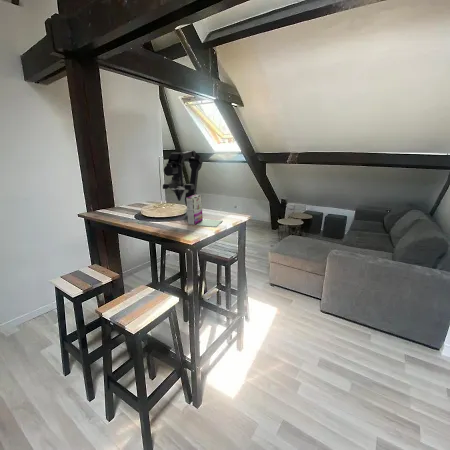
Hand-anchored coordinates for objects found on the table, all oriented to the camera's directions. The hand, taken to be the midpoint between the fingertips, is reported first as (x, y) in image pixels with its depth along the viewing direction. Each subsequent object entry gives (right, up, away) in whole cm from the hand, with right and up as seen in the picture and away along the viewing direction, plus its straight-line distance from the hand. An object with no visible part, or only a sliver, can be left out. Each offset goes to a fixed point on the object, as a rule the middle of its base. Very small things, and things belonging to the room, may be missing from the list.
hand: (179, 200), depth 147 cm
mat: (+19, -14, -1) cm, 23 cm away
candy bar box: (+10, -13, +1) cm, 17 cm away
